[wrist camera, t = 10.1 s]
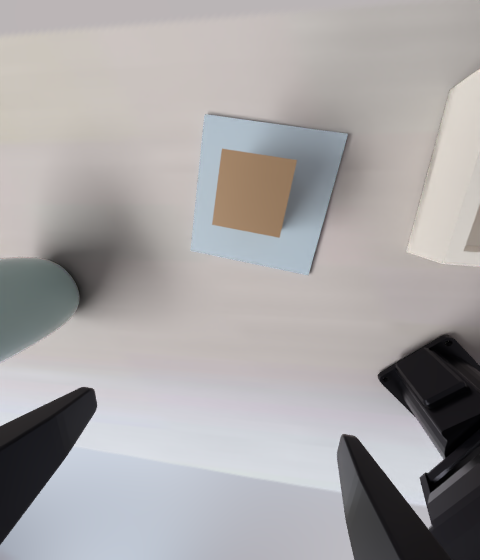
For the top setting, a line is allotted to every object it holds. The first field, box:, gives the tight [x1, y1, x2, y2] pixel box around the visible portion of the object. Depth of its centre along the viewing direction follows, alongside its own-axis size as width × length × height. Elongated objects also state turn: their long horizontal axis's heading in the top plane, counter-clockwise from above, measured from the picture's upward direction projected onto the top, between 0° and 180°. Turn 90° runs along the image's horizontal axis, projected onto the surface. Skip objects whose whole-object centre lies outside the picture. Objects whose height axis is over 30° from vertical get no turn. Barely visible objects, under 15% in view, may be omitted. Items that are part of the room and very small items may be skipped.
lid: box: [191, 114, 348, 275], centre depth 15 cm, size 10×10×6 cm
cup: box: [0, 257, 80, 363], centre depth 18 cm, size 8×8×10 cm
